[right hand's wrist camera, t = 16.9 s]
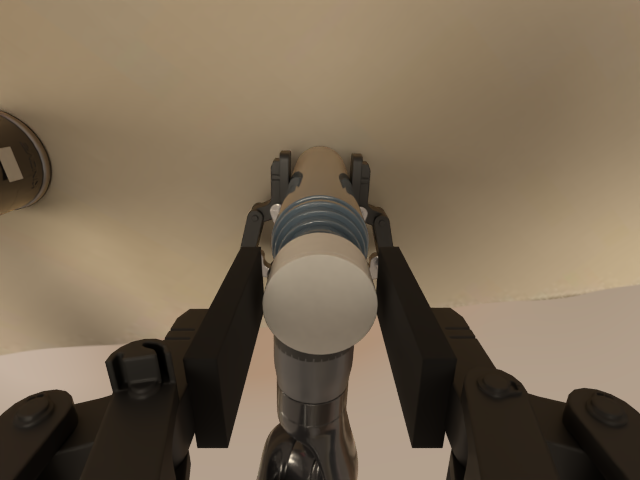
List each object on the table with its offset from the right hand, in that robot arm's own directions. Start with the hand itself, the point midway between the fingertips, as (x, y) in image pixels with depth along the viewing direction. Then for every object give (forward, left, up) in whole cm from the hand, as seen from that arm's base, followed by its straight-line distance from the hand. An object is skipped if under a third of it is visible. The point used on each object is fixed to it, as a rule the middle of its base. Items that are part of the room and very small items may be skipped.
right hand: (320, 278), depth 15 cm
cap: (0, 0, +2) cm, 2 cm away
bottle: (0, 0, -22) cm, 22 cm away
